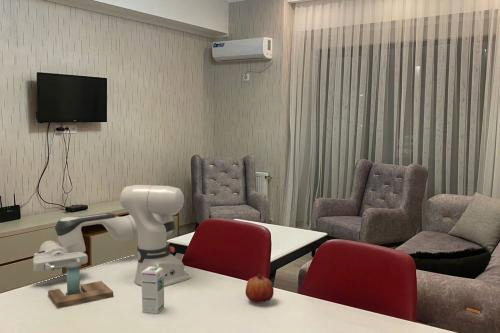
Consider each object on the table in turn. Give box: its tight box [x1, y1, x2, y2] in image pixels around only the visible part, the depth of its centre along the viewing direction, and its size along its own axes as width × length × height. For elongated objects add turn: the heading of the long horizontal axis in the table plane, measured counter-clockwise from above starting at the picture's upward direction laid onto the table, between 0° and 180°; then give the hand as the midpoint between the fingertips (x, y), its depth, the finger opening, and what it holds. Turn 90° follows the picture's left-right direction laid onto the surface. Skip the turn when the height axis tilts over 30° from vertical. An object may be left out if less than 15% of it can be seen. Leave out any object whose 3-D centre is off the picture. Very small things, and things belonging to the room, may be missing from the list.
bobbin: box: [64, 262, 83, 296], centre depth 172 cm, size 6×6×12 cm
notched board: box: [47, 280, 114, 309], centre depth 172 cm, size 20×14×2 cm
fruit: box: [245, 273, 274, 304], centre depth 169 cm, size 11×10×10 cm
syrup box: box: [141, 267, 165, 315], centre depth 160 cm, size 6×6×14 cm
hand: (65, 266), depth 181 cm, fingers open, 8 cm apart
